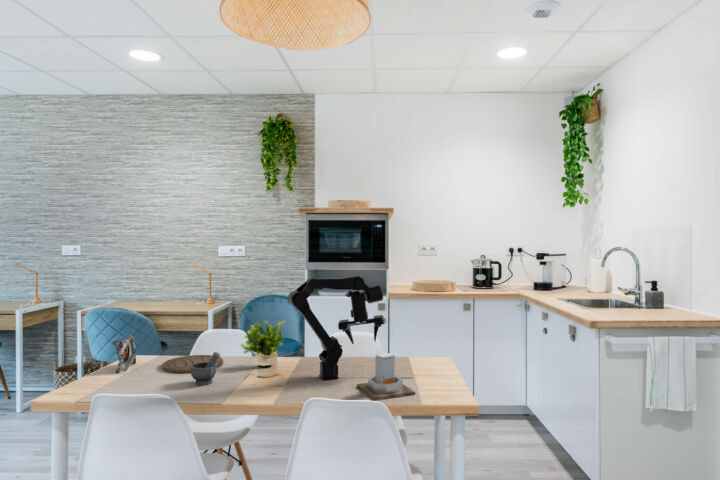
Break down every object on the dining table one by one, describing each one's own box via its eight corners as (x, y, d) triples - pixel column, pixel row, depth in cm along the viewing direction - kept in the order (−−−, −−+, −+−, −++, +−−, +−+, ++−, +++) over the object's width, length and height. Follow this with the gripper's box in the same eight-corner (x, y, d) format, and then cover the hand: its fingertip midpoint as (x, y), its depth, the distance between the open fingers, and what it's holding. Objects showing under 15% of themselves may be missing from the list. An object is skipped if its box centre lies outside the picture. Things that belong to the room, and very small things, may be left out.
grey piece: (126, 364, 201) (126, 334, 201) (136, 364, 201) (136, 334, 201) (111, 374, 186) (112, 342, 186) (122, 373, 186) (123, 341, 187)
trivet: (215, 356, 217) (215, 352, 217) (229, 369, 195) (229, 364, 195) (158, 363, 204) (158, 359, 204) (166, 377, 182) (167, 372, 182)
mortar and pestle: (185, 386, 170) (185, 354, 170) (197, 379, 179) (197, 348, 179) (214, 387, 169) (214, 355, 169) (224, 380, 178) (224, 349, 178)
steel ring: (377, 394, 159) (377, 386, 159) (364, 385, 170) (364, 377, 170) (407, 390, 164) (407, 382, 164) (392, 381, 174) (392, 373, 174)
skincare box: (381, 390, 163) (381, 357, 163) (374, 387, 167) (375, 354, 167) (395, 387, 166) (395, 355, 167) (388, 384, 170) (388, 352, 170)
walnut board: (374, 400, 156) (374, 397, 156) (356, 386, 171) (356, 384, 171) (415, 394, 162) (415, 391, 162) (394, 381, 177) (394, 379, 177)
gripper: (381, 299, 195) (386, 334, 195) (338, 304, 196) (343, 340, 197) (381, 304, 184) (386, 342, 184) (335, 310, 185) (341, 347, 185)
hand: (364, 342), depth 188 cm, fingers open, 9 cm apart
